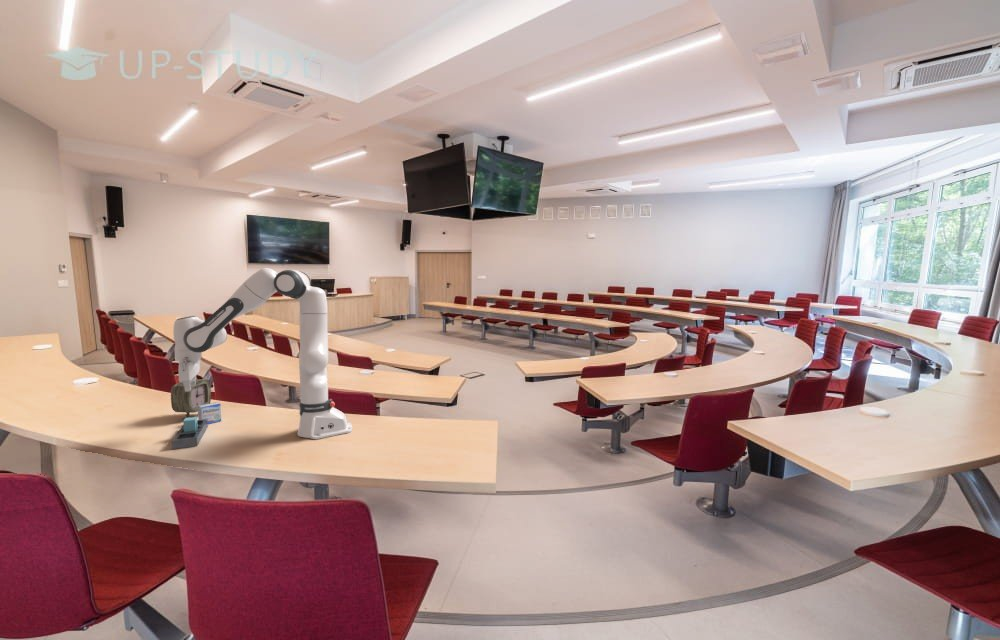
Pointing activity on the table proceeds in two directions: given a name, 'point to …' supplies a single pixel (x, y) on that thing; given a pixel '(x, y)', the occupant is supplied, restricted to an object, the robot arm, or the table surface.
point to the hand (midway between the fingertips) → (190, 388)
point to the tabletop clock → (190, 396)
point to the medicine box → (210, 412)
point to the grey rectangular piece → (190, 436)
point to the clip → (190, 424)
